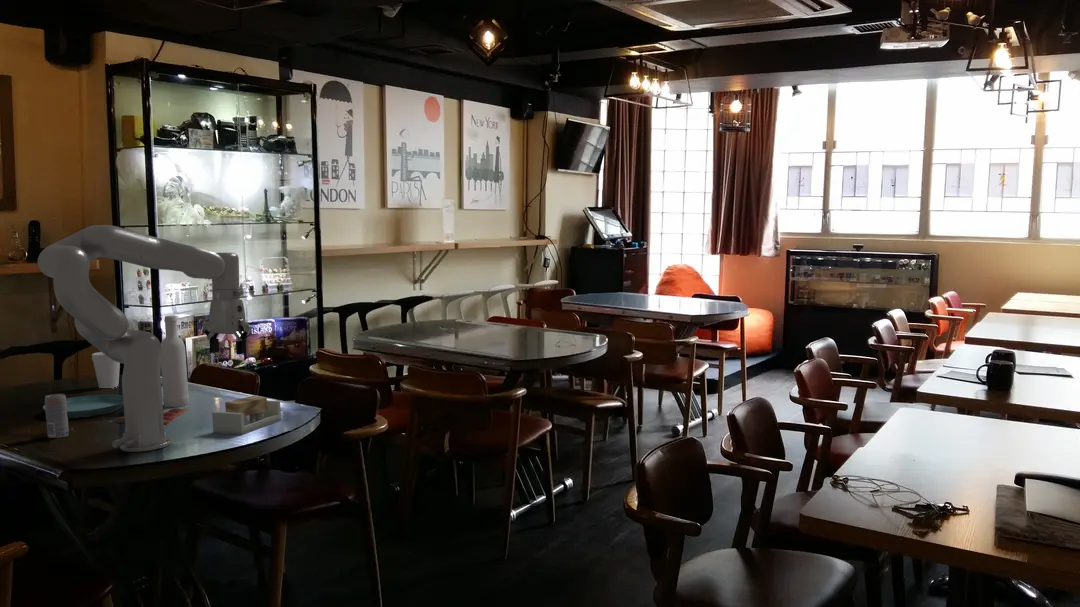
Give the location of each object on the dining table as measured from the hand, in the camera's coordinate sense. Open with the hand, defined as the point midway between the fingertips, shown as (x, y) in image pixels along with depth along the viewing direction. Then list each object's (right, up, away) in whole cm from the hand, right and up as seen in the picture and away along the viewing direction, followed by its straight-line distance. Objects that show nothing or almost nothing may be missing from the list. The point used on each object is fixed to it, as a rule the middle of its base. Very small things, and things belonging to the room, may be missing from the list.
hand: (227, 353), depth 249 cm
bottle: (-30, -20, +35) cm, 50 cm away
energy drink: (-47, -24, -4) cm, 53 cm away
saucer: (-57, -21, +29) cm, 67 cm away
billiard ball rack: (-26, -22, +18) cm, 39 cm away
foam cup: (-70, -17, +69) cm, 100 cm away
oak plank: (+5, -18, +2) cm, 19 cm away
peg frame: (+5, -22, +3) cm, 23 cm away
